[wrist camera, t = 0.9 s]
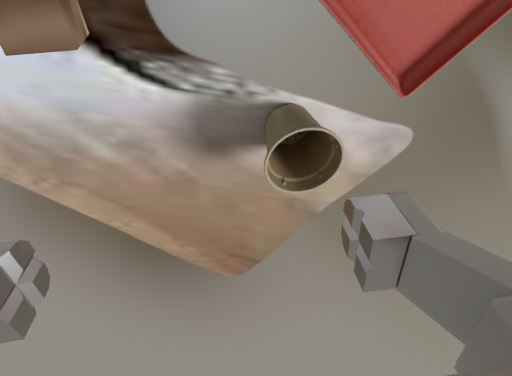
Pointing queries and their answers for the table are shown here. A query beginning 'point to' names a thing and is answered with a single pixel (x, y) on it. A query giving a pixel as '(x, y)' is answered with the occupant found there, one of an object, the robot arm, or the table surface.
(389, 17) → the plant saucer
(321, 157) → the flower pot
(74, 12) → the block
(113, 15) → the table surface
